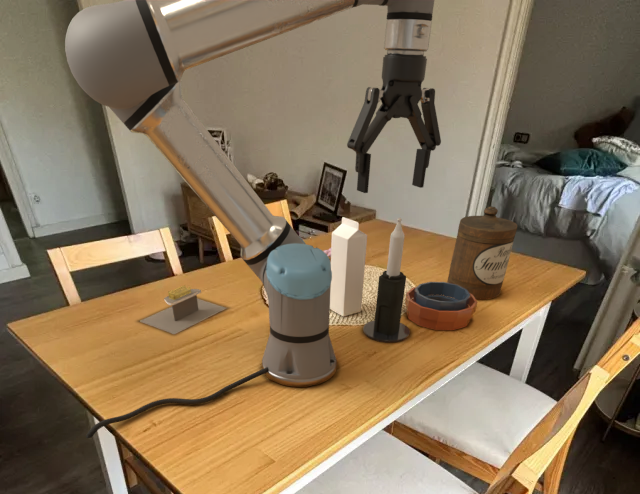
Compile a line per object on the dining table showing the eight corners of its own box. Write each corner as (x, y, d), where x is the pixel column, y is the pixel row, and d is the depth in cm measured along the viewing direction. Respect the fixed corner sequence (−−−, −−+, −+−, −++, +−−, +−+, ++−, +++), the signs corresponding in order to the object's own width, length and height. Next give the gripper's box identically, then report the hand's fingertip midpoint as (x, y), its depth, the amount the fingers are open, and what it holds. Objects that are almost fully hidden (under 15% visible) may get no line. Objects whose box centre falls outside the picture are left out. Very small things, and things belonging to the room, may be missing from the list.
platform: (138, 321, 115) (133, 294, 111) (193, 297, 127) (189, 272, 123) (174, 334, 110) (169, 307, 106) (227, 308, 122) (224, 283, 118)
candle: (400, 328, 114) (416, 217, 98) (391, 336, 110) (406, 222, 95) (381, 323, 116) (393, 213, 101) (371, 330, 112) (382, 218, 97)
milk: (343, 317, 119) (348, 224, 106) (328, 308, 123) (331, 218, 110) (361, 311, 122) (369, 220, 109) (346, 303, 126) (351, 214, 113)
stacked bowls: (434, 336, 112) (439, 310, 108) (391, 310, 123) (394, 285, 119) (486, 322, 119) (492, 297, 115) (440, 298, 130) (445, 275, 126)
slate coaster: (380, 346, 107) (381, 344, 107) (353, 327, 115) (354, 325, 114) (419, 336, 112) (419, 334, 112) (390, 318, 119) (391, 316, 119)
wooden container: (480, 304, 127) (501, 217, 114) (435, 287, 136) (450, 204, 123) (510, 291, 135) (533, 208, 122) (466, 276, 144) (483, 197, 131)
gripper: (356, 50, 74) (347, 198, 87) (474, 56, 85) (451, 187, 98) (332, 50, 80) (327, 189, 93) (446, 55, 90) (427, 180, 103)
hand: (390, 189), depth 95 cm, fingers open, 13 cm apart
